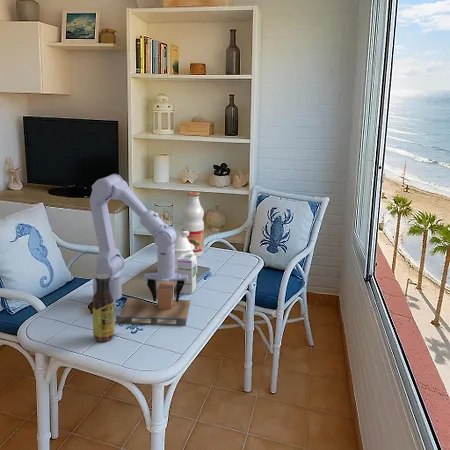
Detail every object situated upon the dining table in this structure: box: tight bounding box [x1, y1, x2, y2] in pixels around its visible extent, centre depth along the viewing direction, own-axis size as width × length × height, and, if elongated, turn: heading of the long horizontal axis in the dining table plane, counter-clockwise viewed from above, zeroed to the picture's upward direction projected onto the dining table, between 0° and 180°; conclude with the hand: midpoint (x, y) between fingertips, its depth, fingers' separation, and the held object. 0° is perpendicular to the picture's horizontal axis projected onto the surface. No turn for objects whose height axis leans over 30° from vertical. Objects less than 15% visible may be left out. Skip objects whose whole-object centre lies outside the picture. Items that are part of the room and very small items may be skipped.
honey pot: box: [173, 230, 198, 274], centre depth 196 cm, size 13×13×18 cm
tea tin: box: [157, 281, 175, 309], centre depth 168 cm, size 4×6×7 cm
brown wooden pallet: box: [115, 297, 191, 327], centre depth 164 cm, size 22×18×3 cm
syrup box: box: [177, 254, 197, 296], centre depth 179 cm, size 6×6×14 cm
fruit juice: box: [182, 191, 205, 258], centre depth 216 cm, size 9×9×28 cm
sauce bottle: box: [92, 274, 115, 343], centre depth 147 cm, size 6×6×20 cm
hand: (166, 300), depth 169 cm, fingers open, 7 cm apart
